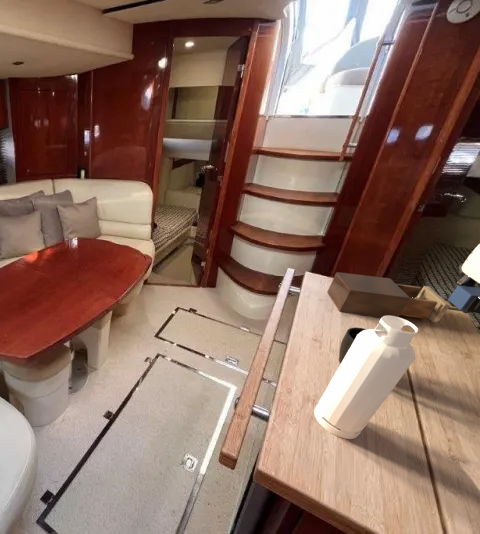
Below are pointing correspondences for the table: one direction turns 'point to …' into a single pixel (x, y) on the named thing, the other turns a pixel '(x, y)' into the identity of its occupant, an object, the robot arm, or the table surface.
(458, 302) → the block
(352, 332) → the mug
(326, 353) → the table surface
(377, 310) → the cabinet
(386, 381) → the bottle
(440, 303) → the drawer
